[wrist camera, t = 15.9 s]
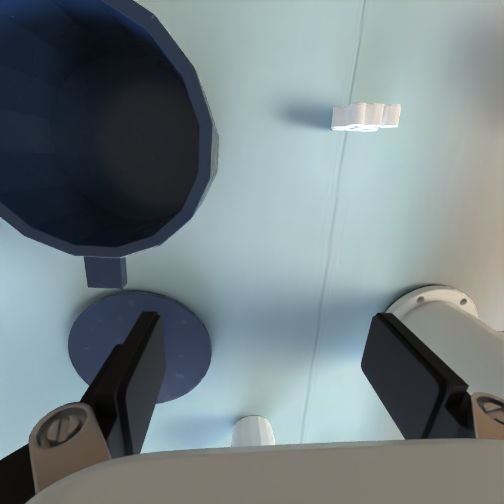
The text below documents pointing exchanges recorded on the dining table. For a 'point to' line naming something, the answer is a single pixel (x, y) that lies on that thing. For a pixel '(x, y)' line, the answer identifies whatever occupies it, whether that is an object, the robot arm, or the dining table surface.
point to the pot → (99, 131)
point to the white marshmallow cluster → (365, 117)
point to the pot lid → (119, 326)
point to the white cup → (252, 432)
